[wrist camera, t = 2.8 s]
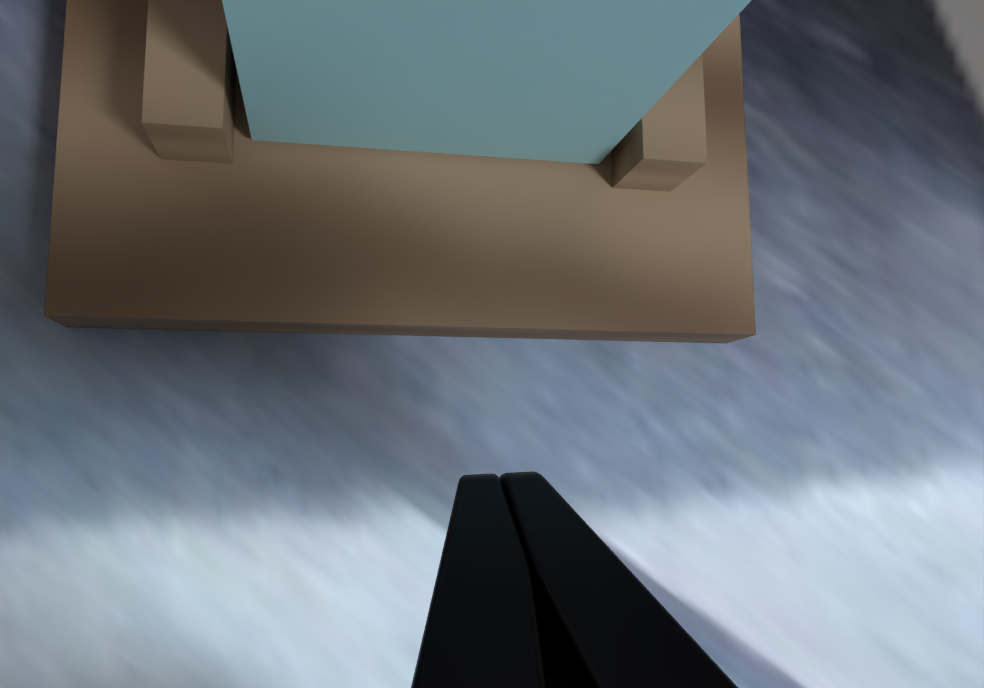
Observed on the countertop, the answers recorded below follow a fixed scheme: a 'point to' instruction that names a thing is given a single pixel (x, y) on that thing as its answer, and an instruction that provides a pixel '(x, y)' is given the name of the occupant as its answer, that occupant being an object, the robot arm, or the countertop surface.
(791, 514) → the countertop surface
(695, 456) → the countertop surface
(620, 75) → the paddle button
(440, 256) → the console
